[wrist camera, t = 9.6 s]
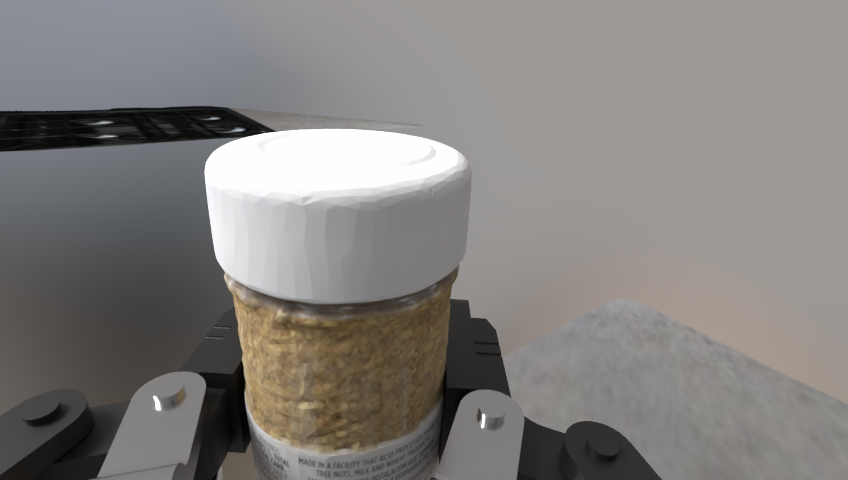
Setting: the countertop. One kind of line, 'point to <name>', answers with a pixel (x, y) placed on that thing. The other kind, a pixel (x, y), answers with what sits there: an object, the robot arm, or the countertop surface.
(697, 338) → the countertop surface
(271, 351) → the sprinkles bottle
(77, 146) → the countertop surface
